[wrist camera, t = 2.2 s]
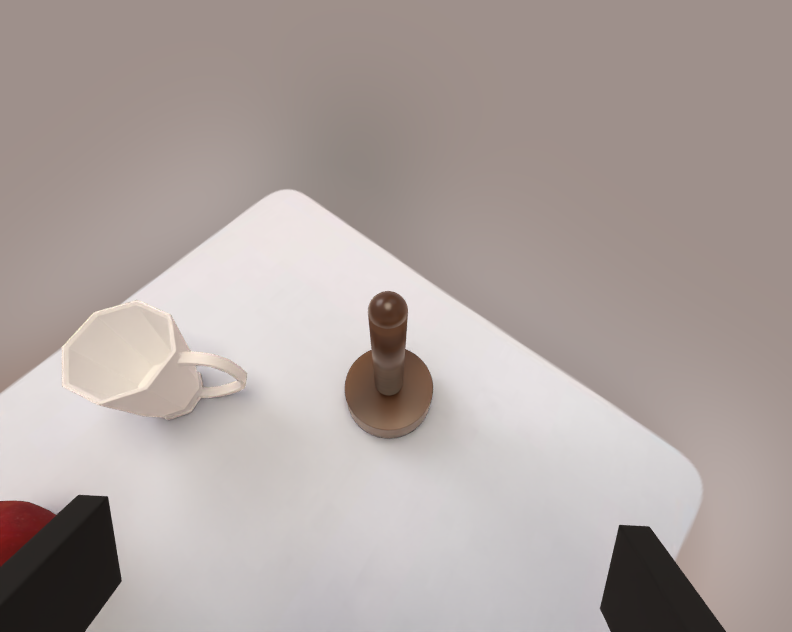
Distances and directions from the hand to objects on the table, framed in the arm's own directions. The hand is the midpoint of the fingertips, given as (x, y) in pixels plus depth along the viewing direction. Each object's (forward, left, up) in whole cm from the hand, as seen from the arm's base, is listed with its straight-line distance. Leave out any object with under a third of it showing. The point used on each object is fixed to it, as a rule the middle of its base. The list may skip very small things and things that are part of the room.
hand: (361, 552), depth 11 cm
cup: (+18, 0, -20) cm, 27 cm away
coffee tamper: (+6, -9, -19) cm, 22 cm away
